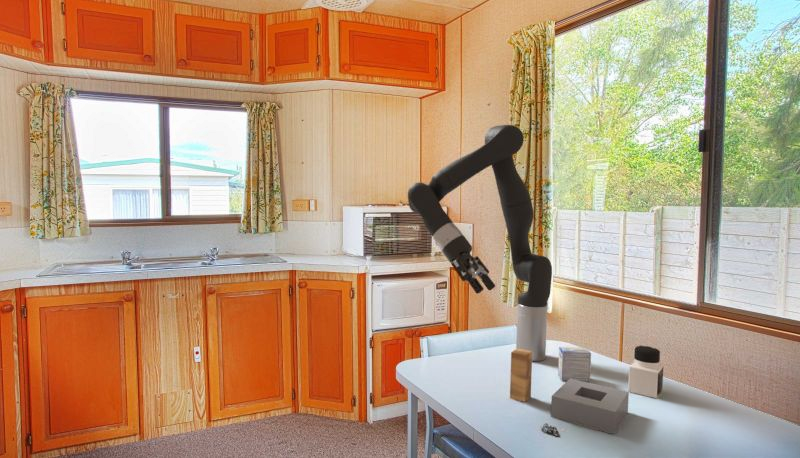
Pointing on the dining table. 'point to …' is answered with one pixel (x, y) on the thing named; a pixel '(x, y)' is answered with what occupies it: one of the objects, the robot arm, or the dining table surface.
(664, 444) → the dining table surface
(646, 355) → the medicine bottle
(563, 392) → the socket block
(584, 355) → the medicine box
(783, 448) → the dining table surface
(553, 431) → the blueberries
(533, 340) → the robot arm
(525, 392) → the wooden peg
